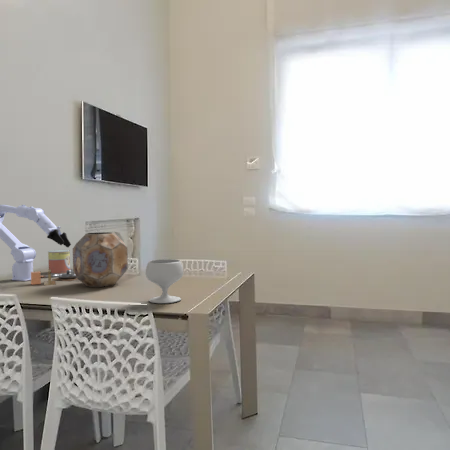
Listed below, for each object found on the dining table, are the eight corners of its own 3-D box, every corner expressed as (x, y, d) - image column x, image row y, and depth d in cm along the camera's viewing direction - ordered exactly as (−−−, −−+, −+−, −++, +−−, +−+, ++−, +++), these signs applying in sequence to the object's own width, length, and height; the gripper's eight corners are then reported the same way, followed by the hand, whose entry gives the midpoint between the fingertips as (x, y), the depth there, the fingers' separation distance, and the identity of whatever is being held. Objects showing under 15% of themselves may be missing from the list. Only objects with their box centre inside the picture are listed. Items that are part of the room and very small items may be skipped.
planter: (63, 288, 191) (61, 234, 190) (97, 279, 214) (96, 231, 213) (105, 290, 184) (104, 235, 183) (136, 281, 207) (135, 231, 206)
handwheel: (53, 277, 215) (53, 269, 214) (68, 274, 224) (68, 267, 224) (69, 278, 211) (69, 270, 211) (83, 275, 220) (83, 267, 220)
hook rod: (31, 284, 200) (30, 272, 199) (31, 283, 204) (31, 271, 203) (61, 282, 205) (61, 271, 204) (61, 281, 208) (61, 269, 208)
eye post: (43, 285, 199) (43, 272, 199) (44, 282, 208) (43, 269, 208) (55, 284, 201) (55, 271, 201) (55, 281, 210) (55, 268, 210)
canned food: (65, 273, 234) (65, 251, 234) (45, 274, 234) (44, 252, 234) (73, 270, 245) (72, 249, 245) (53, 271, 246) (53, 250, 245)
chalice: (138, 303, 159) (138, 262, 158) (158, 296, 172) (157, 258, 171) (172, 306, 154) (172, 264, 153) (189, 298, 167) (189, 259, 166)
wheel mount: (52, 279, 214) (52, 278, 214) (68, 276, 225) (68, 275, 225) (69, 281, 210) (69, 279, 210) (85, 277, 220) (85, 276, 220)
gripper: (46, 217, 204) (65, 236, 202) (60, 223, 219) (77, 241, 216) (35, 227, 204) (54, 247, 201) (50, 233, 218) (67, 251, 216)
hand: (66, 244), depth 209 cm, fingers open, 7 cm apart
